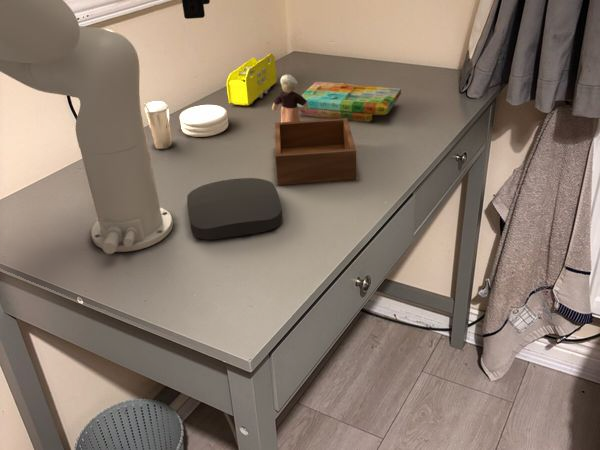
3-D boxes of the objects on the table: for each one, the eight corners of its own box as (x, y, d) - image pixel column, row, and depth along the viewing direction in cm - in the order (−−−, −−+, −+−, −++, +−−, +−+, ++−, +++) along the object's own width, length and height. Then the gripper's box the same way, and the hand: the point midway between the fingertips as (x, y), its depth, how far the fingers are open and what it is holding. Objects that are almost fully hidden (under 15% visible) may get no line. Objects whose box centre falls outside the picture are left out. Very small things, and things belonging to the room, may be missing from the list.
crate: (356, 179, 112) (356, 150, 109) (277, 185, 111) (275, 156, 109) (347, 144, 124) (347, 117, 121) (277, 149, 124) (274, 122, 121)
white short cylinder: (232, 133, 132) (231, 117, 130) (185, 141, 130) (182, 125, 128) (224, 116, 140) (222, 101, 138) (178, 123, 138) (176, 108, 136)
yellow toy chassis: (250, 108, 143) (246, 72, 139) (228, 106, 145) (223, 70, 141) (278, 85, 156) (276, 51, 151) (257, 83, 158) (254, 49, 153)
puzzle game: (314, 78, 144) (401, 85, 138) (315, 98, 147) (400, 105, 140) (295, 96, 135) (387, 104, 128) (296, 117, 138) (387, 126, 131)
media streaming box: (192, 245, 97) (189, 228, 95) (187, 199, 109) (185, 184, 107) (287, 230, 99) (285, 214, 97) (272, 187, 111) (270, 172, 109)
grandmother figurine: (272, 139, 128) (267, 78, 122) (274, 132, 131) (269, 72, 125) (310, 139, 127) (307, 77, 121) (311, 131, 131) (308, 70, 124)
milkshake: (144, 150, 127) (135, 102, 122) (161, 139, 131) (153, 93, 126) (162, 153, 125) (153, 105, 120) (179, 143, 129) (171, 95, 124)
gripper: (201, -103, 89) (216, 22, 98) (211, -112, 104) (223, -2, 113) (148, -100, 89) (167, 25, 98) (165, -109, 104) (181, 0, 112)
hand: (197, 10), depth 105 cm, fingers open, 9 cm apart
